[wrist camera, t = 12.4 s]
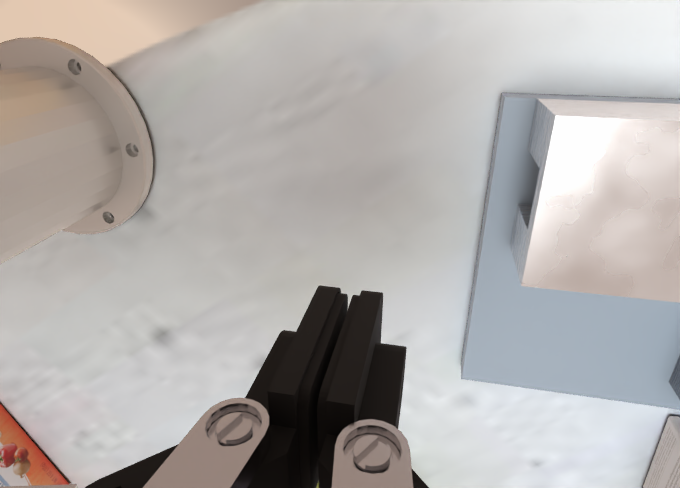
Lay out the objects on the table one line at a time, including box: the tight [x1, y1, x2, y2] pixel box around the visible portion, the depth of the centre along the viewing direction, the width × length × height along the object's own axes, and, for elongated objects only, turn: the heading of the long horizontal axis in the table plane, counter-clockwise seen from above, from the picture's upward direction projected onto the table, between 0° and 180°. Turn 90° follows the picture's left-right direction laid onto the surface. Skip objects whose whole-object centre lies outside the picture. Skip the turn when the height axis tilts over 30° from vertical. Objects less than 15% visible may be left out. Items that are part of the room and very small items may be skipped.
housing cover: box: [510, 99, 680, 303], centre depth 22 cm, size 7×8×4 cm
